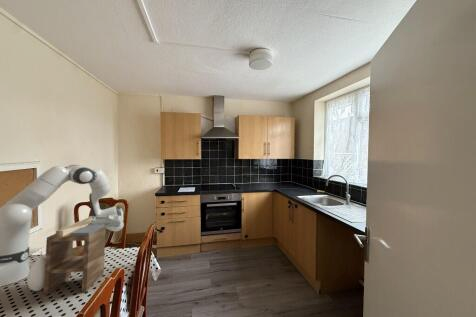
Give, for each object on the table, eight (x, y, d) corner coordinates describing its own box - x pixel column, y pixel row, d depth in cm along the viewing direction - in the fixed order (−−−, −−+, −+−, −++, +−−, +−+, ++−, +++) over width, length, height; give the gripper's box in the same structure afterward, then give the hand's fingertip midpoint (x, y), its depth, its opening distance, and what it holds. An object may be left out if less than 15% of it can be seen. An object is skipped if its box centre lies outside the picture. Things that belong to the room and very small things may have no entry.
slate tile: (70, 236, 88) (70, 233, 88) (88, 227, 101) (88, 224, 101) (88, 235, 89) (88, 232, 89) (104, 226, 102) (104, 224, 102)
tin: (60, 266, 109) (61, 251, 110) (59, 264, 111) (60, 249, 112) (92, 256, 121) (92, 243, 121) (91, 255, 123) (91, 242, 123)
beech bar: (55, 236, 88) (56, 231, 88) (86, 222, 110) (87, 218, 110) (62, 236, 88) (63, 230, 88) (92, 222, 110) (92, 217, 110)
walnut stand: (43, 294, 85) (46, 237, 86) (66, 276, 99) (69, 227, 100) (86, 291, 88) (89, 236, 89) (103, 274, 102) (105, 226, 103)
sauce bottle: (21, 296, 84) (24, 256, 85) (35, 285, 91) (37, 248, 92) (42, 294, 86) (45, 254, 86) (54, 283, 93) (56, 247, 94)
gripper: (94, 217, 131) (83, 212, 120) (125, 216, 134) (117, 211, 122) (91, 227, 128) (80, 222, 116) (123, 225, 131) (115, 221, 119)
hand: (99, 216), depth 119 cm, fingers open, 8 cm apart
